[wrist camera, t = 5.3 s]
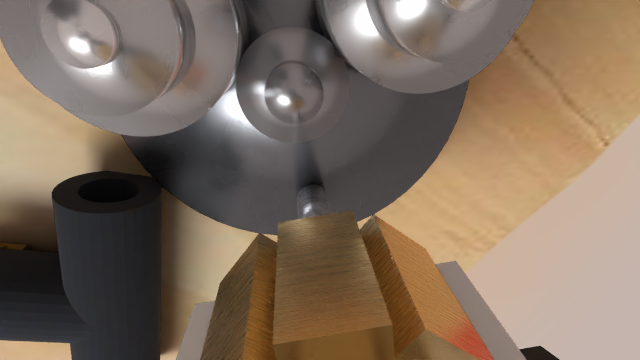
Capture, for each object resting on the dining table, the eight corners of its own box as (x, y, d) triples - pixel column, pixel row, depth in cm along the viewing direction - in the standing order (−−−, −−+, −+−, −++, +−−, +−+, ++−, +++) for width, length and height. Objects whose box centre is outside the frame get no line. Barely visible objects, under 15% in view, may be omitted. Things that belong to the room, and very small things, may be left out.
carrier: (36, -117, 15) (-269, -286, 7) (467, -176, 16) (677, -404, 7) (171, 247, 23) (106, 376, 15) (457, 200, 24) (553, 299, 15)
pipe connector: (-64, 421, 21) (-147, 192, 15) (1, 346, 26) (-44, 150, 20) (145, 423, 23) (143, 219, 17) (168, 352, 28) (172, 175, 22)
